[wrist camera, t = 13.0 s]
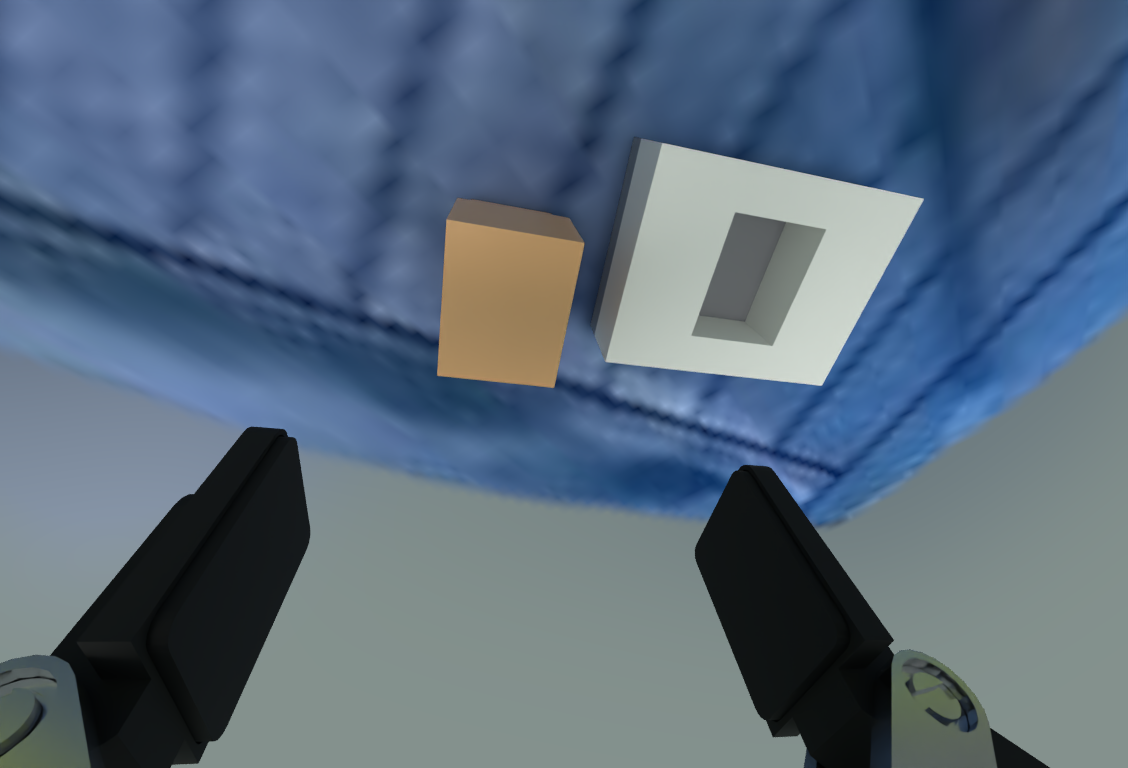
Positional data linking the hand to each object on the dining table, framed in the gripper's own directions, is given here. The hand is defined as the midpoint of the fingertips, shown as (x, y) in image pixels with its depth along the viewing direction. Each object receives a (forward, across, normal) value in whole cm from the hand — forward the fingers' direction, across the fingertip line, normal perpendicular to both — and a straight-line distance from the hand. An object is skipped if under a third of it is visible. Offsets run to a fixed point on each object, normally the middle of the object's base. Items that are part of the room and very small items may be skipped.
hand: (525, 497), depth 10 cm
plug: (+20, 0, +1) cm, 20 cm away
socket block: (+20, -12, -1) cm, 23 cm away
